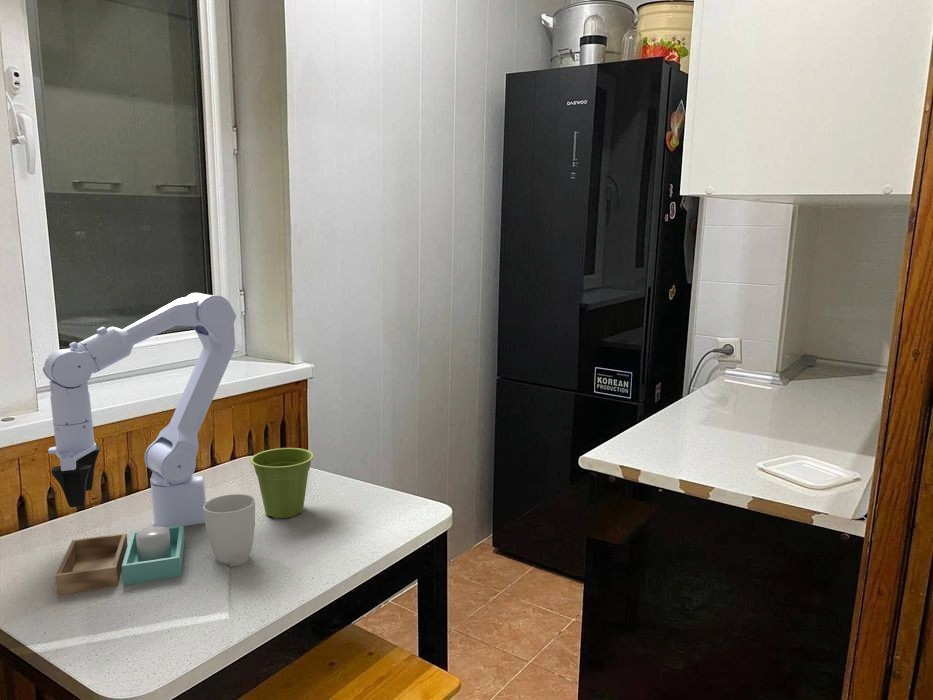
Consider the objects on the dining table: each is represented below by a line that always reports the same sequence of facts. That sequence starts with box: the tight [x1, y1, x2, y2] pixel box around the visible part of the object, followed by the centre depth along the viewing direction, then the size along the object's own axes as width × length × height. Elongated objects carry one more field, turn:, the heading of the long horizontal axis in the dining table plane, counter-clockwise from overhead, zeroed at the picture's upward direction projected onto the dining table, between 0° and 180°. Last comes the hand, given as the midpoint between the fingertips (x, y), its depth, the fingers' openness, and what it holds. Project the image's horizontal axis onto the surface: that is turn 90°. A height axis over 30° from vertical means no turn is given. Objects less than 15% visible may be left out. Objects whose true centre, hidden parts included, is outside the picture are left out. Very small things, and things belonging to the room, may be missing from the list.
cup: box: [203, 493, 256, 568], centre depth 117 cm, size 8×8×10 cm
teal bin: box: [121, 525, 186, 586], centre depth 116 cm, size 8×13×4 cm, turn 19°
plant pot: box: [249, 447, 315, 519], centre depth 137 cm, size 12×12×11 cm
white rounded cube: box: [136, 526, 171, 562], centre depth 115 cm, size 5×5×5 cm
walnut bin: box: [54, 532, 129, 596], centre depth 113 cm, size 8×13×4 cm, turn 19°
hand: (81, 497), depth 121 cm, fingers open, 7 cm apart
